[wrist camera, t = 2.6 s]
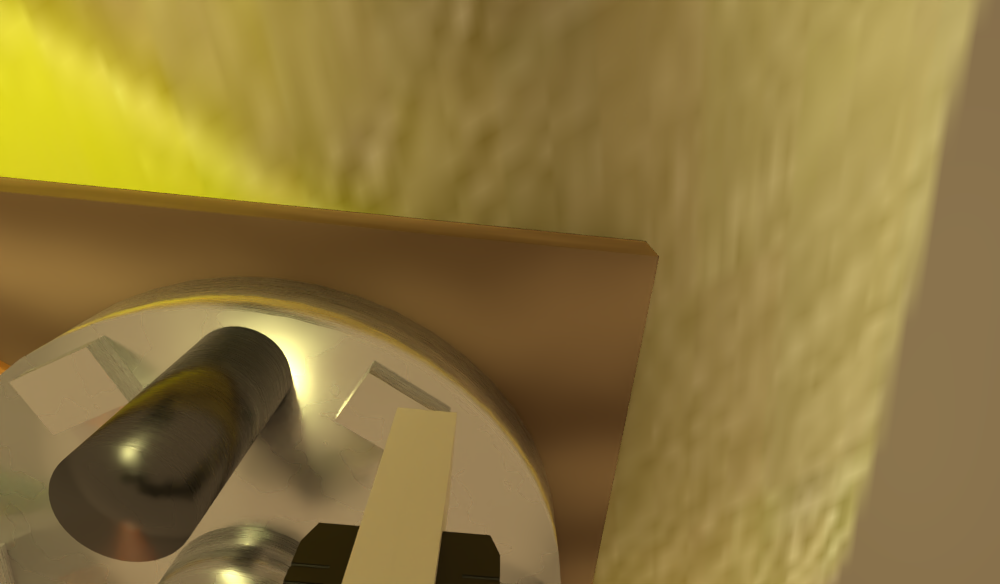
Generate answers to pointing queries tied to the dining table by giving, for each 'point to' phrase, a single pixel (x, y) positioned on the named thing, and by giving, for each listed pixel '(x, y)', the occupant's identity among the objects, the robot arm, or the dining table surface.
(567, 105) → the dining table surface
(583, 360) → the base plate
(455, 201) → the dining table surface
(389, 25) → the dining table surface
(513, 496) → the crank wheel
